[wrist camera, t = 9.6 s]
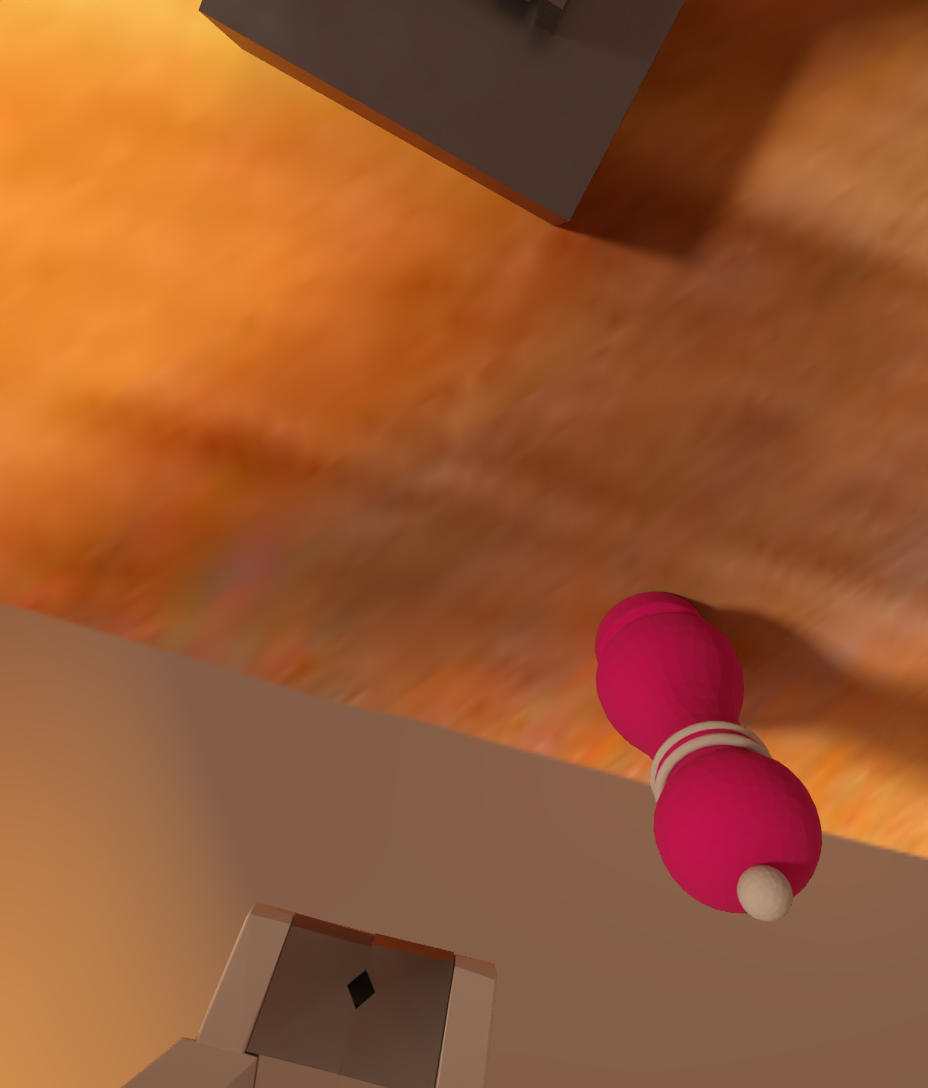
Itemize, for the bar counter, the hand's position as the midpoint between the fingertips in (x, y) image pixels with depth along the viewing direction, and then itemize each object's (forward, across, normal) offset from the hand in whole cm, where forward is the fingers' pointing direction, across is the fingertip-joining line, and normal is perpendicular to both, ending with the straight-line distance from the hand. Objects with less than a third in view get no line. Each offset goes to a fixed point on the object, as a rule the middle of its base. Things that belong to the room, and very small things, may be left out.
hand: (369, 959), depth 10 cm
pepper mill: (+33, -11, +16) cm, 38 cm away
